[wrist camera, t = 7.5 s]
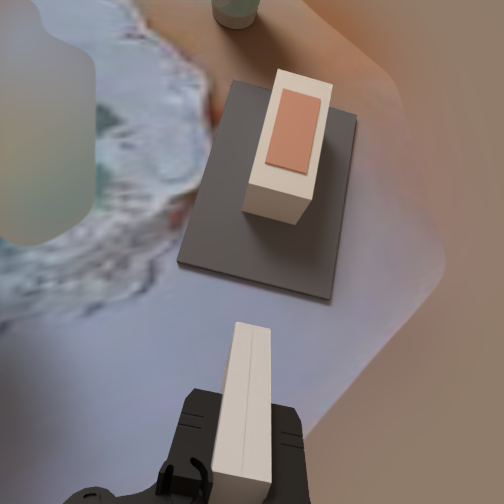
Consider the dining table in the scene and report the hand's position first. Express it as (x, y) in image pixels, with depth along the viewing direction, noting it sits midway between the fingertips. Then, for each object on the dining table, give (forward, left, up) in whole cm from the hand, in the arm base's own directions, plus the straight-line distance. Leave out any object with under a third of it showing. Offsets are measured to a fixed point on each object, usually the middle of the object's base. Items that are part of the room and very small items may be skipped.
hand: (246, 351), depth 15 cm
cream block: (-6, +14, -15) cm, 21 cm away
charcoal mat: (-9, +18, -18) cm, 27 cm away
